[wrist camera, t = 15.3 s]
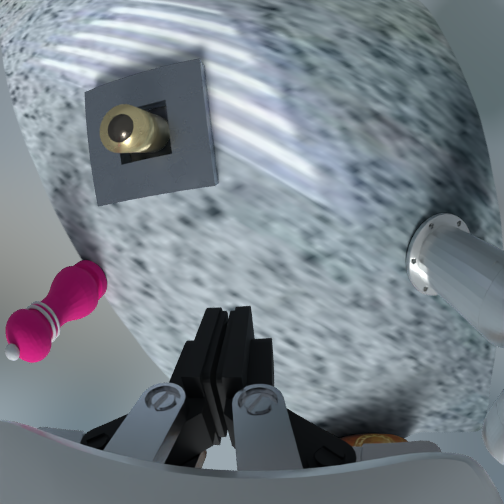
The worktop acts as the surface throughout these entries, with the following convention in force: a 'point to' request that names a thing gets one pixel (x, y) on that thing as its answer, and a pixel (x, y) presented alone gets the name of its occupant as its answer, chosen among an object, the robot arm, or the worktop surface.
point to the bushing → (133, 130)
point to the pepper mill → (54, 311)
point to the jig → (180, 128)
